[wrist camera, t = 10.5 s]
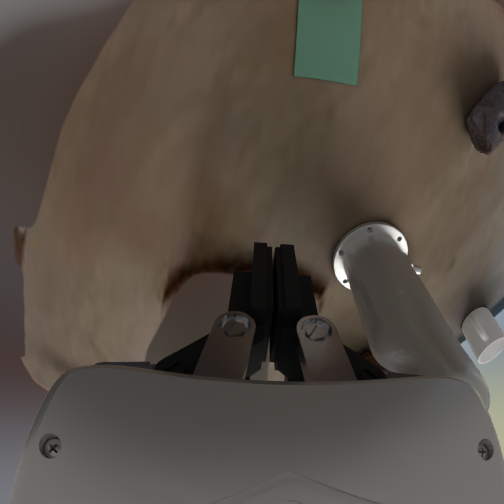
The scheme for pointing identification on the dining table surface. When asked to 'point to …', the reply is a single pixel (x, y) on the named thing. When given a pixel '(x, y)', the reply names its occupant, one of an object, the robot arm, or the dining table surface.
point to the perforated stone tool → (488, 120)
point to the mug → (483, 334)
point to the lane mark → (328, 40)
